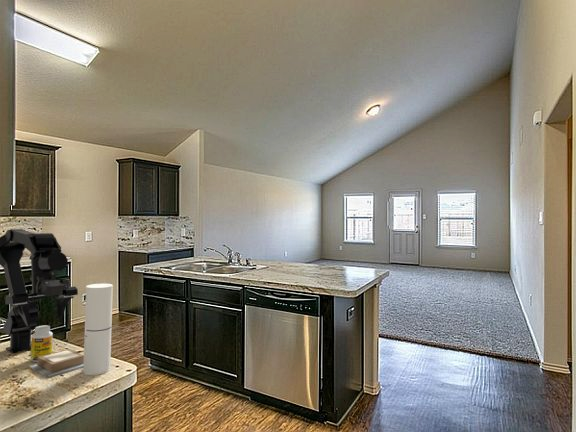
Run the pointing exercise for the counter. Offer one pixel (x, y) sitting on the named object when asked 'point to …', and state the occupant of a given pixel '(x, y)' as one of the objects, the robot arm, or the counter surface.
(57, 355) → the tiered square riser
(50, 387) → the counter surface
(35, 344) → the supplement bottle
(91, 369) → the cylindrical container
